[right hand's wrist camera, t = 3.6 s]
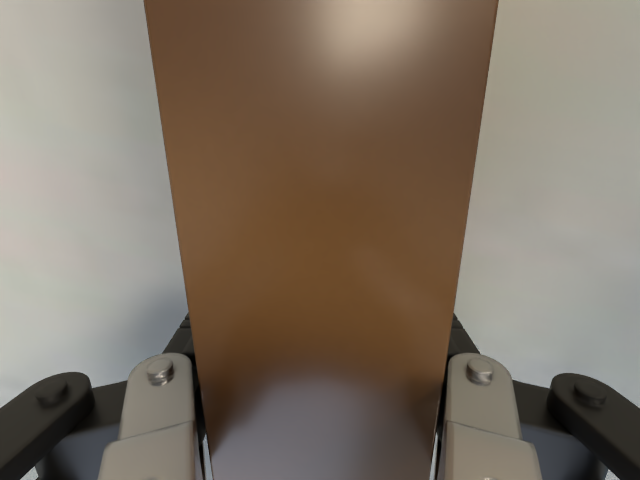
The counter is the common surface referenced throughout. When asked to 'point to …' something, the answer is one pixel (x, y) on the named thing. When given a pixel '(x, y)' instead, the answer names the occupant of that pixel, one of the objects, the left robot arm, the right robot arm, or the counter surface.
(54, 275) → the counter surface
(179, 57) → the post
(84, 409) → the right robot arm
